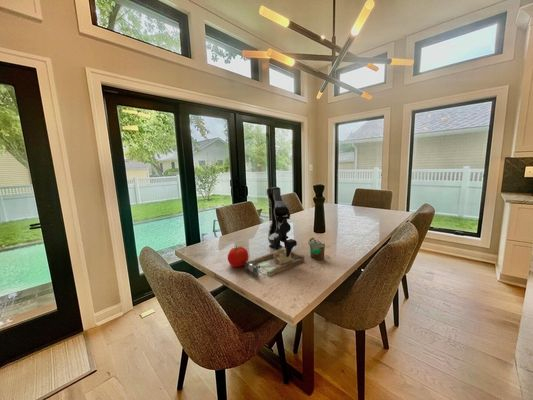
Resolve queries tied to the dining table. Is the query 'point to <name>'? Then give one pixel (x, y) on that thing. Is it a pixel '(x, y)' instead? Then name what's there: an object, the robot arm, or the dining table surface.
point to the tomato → (237, 256)
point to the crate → (281, 256)
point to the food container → (316, 249)
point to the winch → (252, 268)
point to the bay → (274, 270)
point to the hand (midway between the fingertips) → (282, 254)
